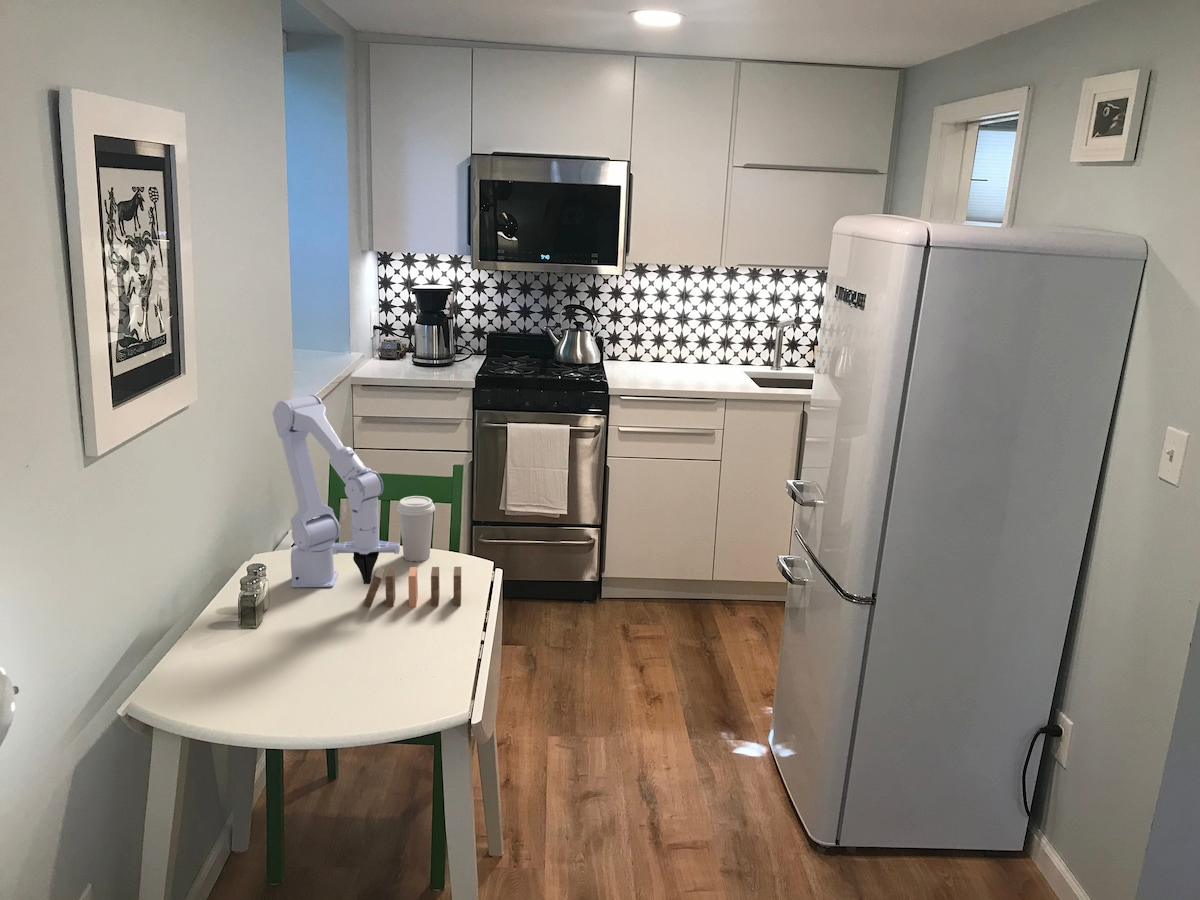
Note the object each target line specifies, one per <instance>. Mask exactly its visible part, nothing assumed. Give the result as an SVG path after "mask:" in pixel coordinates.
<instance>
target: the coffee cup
mask: <svg viewBox="0 0 1200 900" xmlns="http://www.w3.org/2000/svg"><path fill="white" fill-rule="evenodd" d="M396 511H397V513H398V519H399V527H400V536H401V543H402V552H403V558H405V560H406V561H408V560H409V561H408V562H412V561H418V562H423V561H427V560H428V559H430V557H431V556H430V555H431V544H432V533H433V522H434V521H433V519H434V512H435V511H436V506H435V504H434V502H433V499H431V498H430V497H428V496H422V495H412V496H406V497H403V498H401V499H400V500H399V503H398V504H397V507H396Z"/></svg>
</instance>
